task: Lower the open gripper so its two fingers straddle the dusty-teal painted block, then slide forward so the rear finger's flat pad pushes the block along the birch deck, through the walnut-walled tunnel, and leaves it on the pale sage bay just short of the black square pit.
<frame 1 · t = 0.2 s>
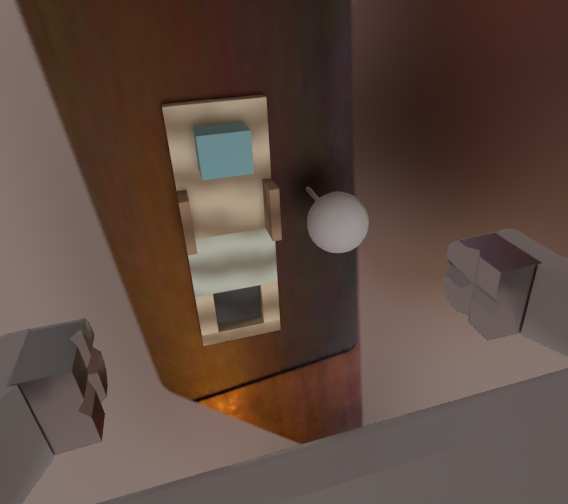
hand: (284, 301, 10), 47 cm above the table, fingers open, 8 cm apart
deck: (228, 230, 61), on the table
block: (220, 145, 53), point 2 cm above the table, touching deck
lollipop: (307, 188, 62), on the table
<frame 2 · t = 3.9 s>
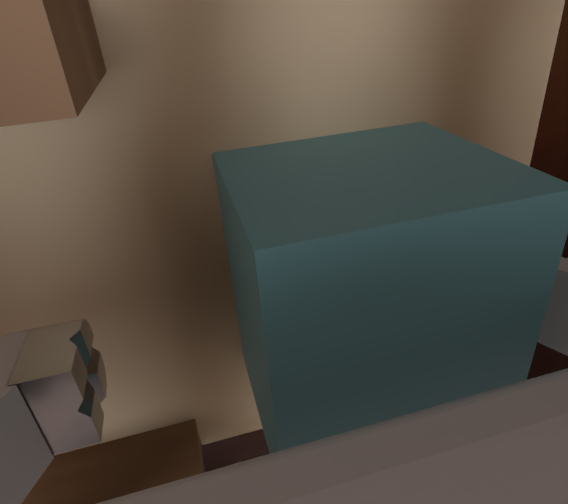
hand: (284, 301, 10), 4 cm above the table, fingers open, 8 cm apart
block: (325, 251, 11), point 2 cm above the table, touching gripper
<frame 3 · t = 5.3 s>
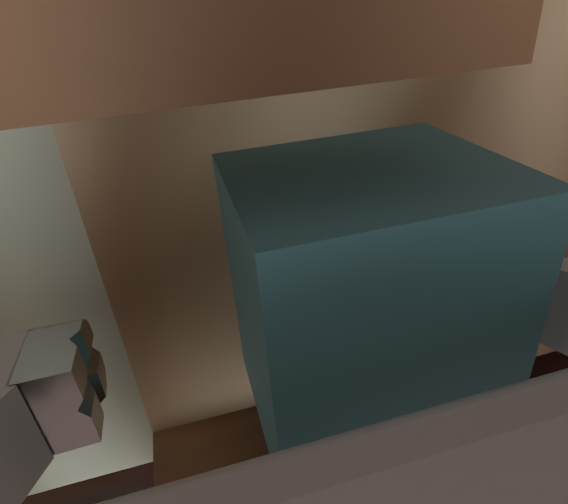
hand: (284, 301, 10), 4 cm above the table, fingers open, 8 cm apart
deck: (94, 260, 12), on the table
block: (326, 253, 11), point 2 cm above the table, touching gripper
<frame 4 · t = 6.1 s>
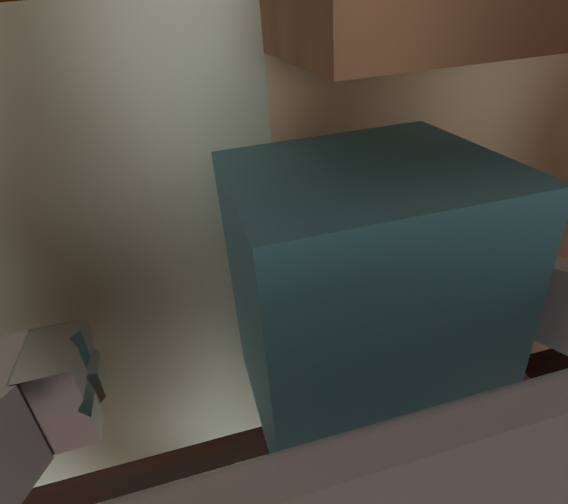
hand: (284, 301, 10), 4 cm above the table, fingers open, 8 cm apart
deck: (247, 228, 13), on the table
block: (324, 250, 12), point 2 cm above the table, touching gripper
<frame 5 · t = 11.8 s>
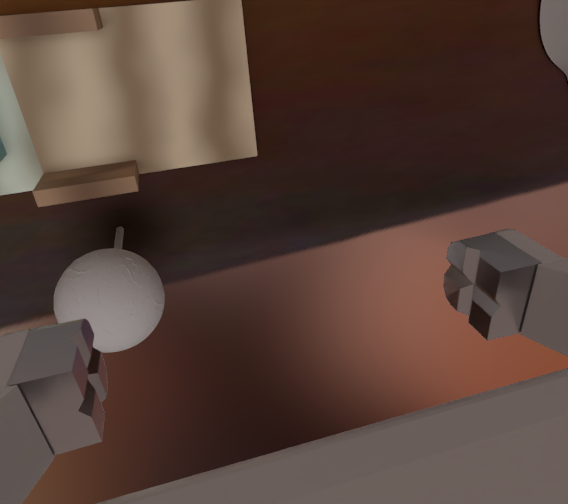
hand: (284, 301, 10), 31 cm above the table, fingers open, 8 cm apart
deck: (20, 106, 34), on the table
lollipop: (120, 228, 41), on the table
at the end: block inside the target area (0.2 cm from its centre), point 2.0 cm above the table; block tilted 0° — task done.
